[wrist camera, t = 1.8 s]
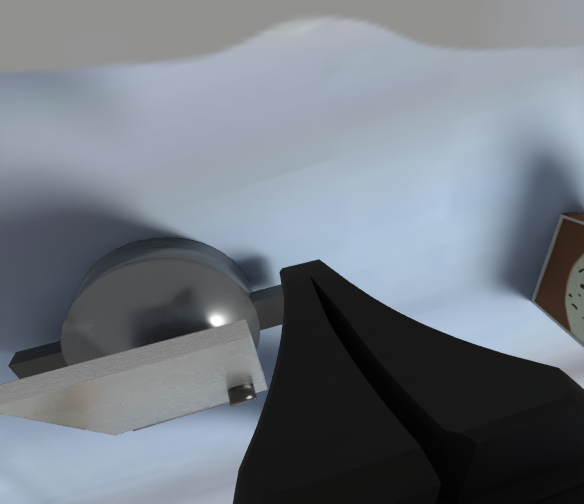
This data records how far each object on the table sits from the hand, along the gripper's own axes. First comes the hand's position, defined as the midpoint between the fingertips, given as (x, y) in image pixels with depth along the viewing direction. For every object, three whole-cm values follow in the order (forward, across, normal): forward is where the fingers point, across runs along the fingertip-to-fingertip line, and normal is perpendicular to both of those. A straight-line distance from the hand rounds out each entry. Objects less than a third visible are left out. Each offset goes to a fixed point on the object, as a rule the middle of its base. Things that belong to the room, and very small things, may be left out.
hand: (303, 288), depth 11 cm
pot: (+10, +7, +8) cm, 15 cm away
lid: (+5, +7, +8) cm, 12 cm away
